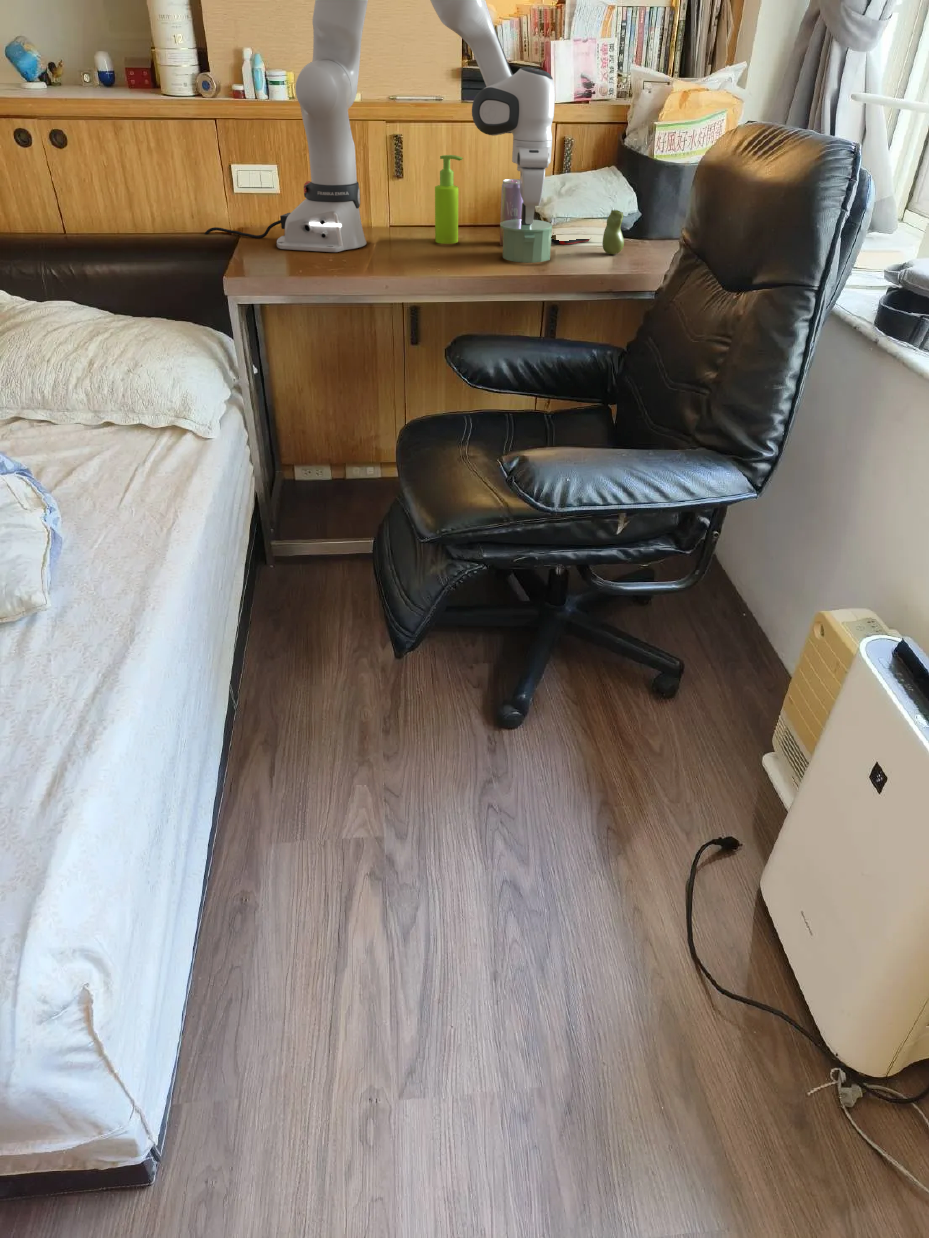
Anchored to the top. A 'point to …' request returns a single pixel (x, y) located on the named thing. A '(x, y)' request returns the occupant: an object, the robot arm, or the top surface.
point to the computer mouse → (569, 241)
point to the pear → (613, 233)
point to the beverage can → (510, 202)
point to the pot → (526, 246)
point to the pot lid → (522, 226)
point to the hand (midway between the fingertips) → (528, 220)
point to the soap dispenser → (446, 204)
